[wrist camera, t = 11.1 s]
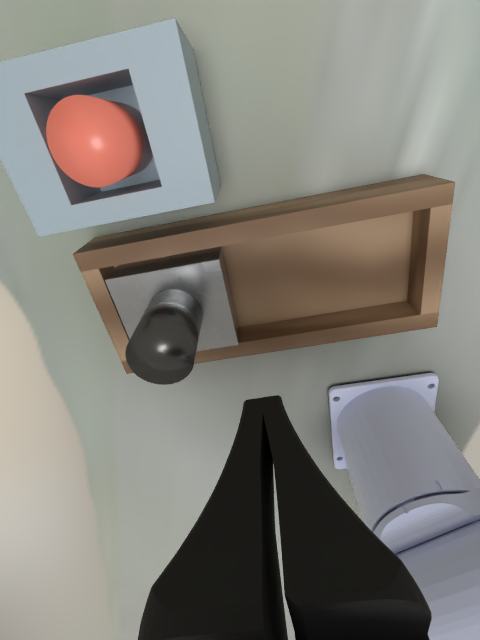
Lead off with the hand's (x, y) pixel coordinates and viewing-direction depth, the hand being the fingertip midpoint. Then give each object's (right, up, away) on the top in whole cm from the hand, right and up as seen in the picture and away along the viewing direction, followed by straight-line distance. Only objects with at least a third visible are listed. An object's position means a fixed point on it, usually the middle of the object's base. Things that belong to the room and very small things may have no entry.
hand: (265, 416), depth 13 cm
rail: (0, +7, +8) cm, 11 cm away
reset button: (-7, +12, +3) cm, 14 cm away
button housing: (-7, +13, +5) cm, 15 cm away
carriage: (-4, +5, +7) cm, 10 cm away
